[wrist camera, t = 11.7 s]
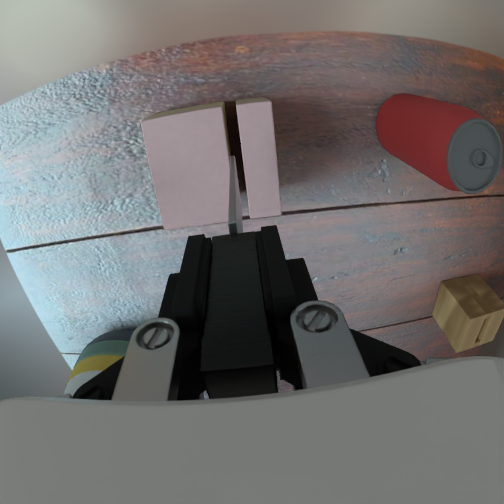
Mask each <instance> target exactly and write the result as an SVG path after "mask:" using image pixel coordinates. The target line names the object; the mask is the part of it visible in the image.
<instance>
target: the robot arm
mask: <svg viewBox="0 0 504 504" xmlns="http://www.w3.org/2000/svg"><path fill="white" fill-rule="evenodd" d="M256 240H257V247H258V254H259V262H260V269H261V276H262V284H263V291H264V298H265V306H266V310H267V311H268V315H269V322H270V329H271V336H272V343H273V350H274V357H275V364H276V371H278V370H279V373H280V380H285V381H287V382H288V383H290V384H292V385H293V391H288V392H281V393H273V394H264V395H255V396H245V397H234V398H221V399H205V400H204V393H203V392H204V391H205V390H206V388H205V386H204V383H203V380H202V378H201V375H200V372H199V365H200V352H201V340H202V329H203V319H204V317H205V306H206V295H207V285H208V275H209V265H210V255H211V246H212V242H211V238H205V235H204V234H202V235H194V236H189V237H188V240H187V244H186V248H185V252H184V257H183V261H182V265H181V269H180V273H174V274H170V275H169V278H168V282H167V285H166V289H165V293H164V297H163V300H162V304H161V308H160V312H159V316H158V318H155V319H151V320H148V321H146V322H144V323H142V324H141V325H139V326H138V327H137V328H136V329H135V330H134V332H133V334H132V336H131V339H130V342H129V345H128V348H127V351H126V354H125V356H124V357H122V358H121V359H119V360H118V361H116V362H115V363H113V364H112V365H111V366H109V367H108V368H106V369H105V370H103V371H102V372H100V373H99V374H97V375H96V376H94V377H93V378H92V379H90V380H89V381H87V382H86V383H84V384H83V385H82V386H80V387H79V388H78V389H77V390H76V392H75V393H74V395H73V396H71V394H70V393H67V394H63V395H59V396H56V397H18V398H9V399H6V400H2V401H0V504H504V358H498V357H485V356H484V357H483V356H474V357H461V358H427V357H426V359H425V361H419V360H418V359H417V358H416V357H415V356H414V355H412V354H410V353H408V352H406V351H404V350H401V349H399V348H396V347H394V346H391V345H389V344H387V343H384V342H382V341H379V340H377V339H374V338H372V337H370V336H367V335H365V334H362V333H360V332H358V331H355V330H353V329H350V328H349V327H348V324H347V322H346V320H345V318H344V315H343V313H342V312H341V310H340V309H339V308H338V307H337V306H335V305H334V304H332V303H329V302H327V301H320V300H318V298H317V295H316V292H315V289H314V286H313V283H312V281H311V278H310V275H309V272H308V269H307V266H306V264H305V261H304V259H303V258H298V259H290V260H286V259H285V255H284V251H283V248H282V244H281V240H280V237H279V233H278V229H277V226H276V225H274V226H265V227H261V231H258V232H256Z"/></svg>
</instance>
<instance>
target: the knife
mask: <svg viewBox="0 0 504 504" xmlns="http://www.w3.org/2000/svg"><path fill="white" fill-rule="evenodd" d="M228 227H229V233H230V234H229V235H221V236H214V237H212V240H211V242H212V246H211V255H210V265H209V275H208V285H207V295H206V306H205V317H204V319H203V329H202V340H201V352H200V365H199V372H200V375H201V378H202V380H203V383H204V386H205V388H206V391H207V393H208V396H209V399H221V398H234V397H245V396H255V395H264V394H273V393H278V385H277V375H276V364H275V357H274V350H273V343H272V336H271V329H270V322H269V315H268V311H267V310H266V306H265V298H264V291H263V284H262V276H261V269H260V262H259V254H258V247H257V240H256V232H254V231H253V232H245V233H243V226H242V211H241V199H240V191H239V184H238V176H237V169H236V161H235V156H230V174H229V206H228Z"/></svg>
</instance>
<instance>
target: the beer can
mask: <svg viewBox="0 0 504 504" xmlns="http://www.w3.org/2000/svg"><path fill="white" fill-rule="evenodd" d="M376 131H377V136H378V139H379V141H380V143H381V144H382V146H383V147H384V148H385V149H386V150H387V151H388V152H389V153H390V154H392V155H393V156H395V157H397V158H398V159H400V160H402V161H403V162H405V163H407V164H408V165H410V166H411V167H413V168H415V169H416V170H418V171H419V172H421V173H423V174H424V175H426V176H427V177H429V178H430V179H432V180H433V181H435V182H436V183H438V184H439V185H441V186H443V187H445V188H447V189H449V190H453V191H462V192H464V193H466V194H477V193H480V192H482V191H484V190H485V189H486V188H488V187H489V186H490V185H491V184H492V182H493V181H494V180H495V178H496V177H497V174H498V172H499V169H500V167H501V161H502V143H501V140H500V136H499V134H498V132H497V131H496V129H495V127H494V126H493V125H492V124H491V123H489V122H488V121H487V120H485V119H484V118H482V117H481V116H480V115H479V114H477V113H476V112H475V111H473V110H472V109H470V108H467V107H463V106H459V105H455V104H451V103H447V102H443V101H438V100H434V99H429V98H425V97H420V96H415V95H410V94H404V93H403V94H398V95H394V96H392V97H391V98H389V99H387V100H386V101H385V103H384V104H383V105H382V106H381V108H380V110H379V112H378V115H377V118H376Z"/></svg>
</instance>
